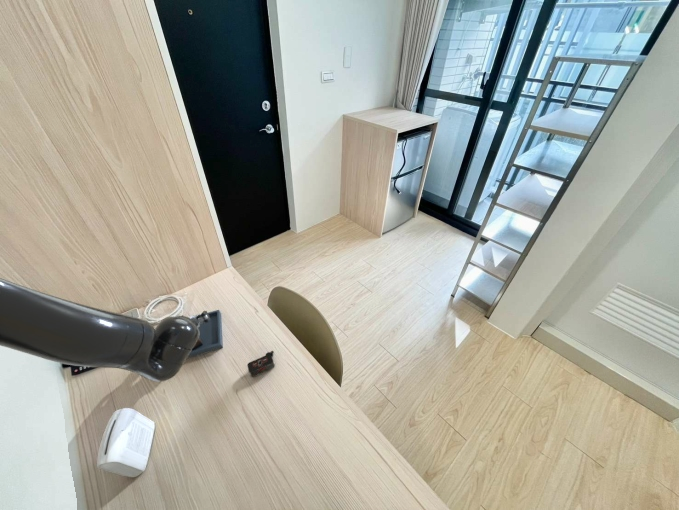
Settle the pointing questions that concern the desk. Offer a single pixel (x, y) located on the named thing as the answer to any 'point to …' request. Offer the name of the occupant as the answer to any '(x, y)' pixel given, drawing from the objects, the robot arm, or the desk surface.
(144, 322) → the robot arm
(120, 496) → the desk surface
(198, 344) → the brown wooden block
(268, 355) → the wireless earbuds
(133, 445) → the photo printer
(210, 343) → the tray
